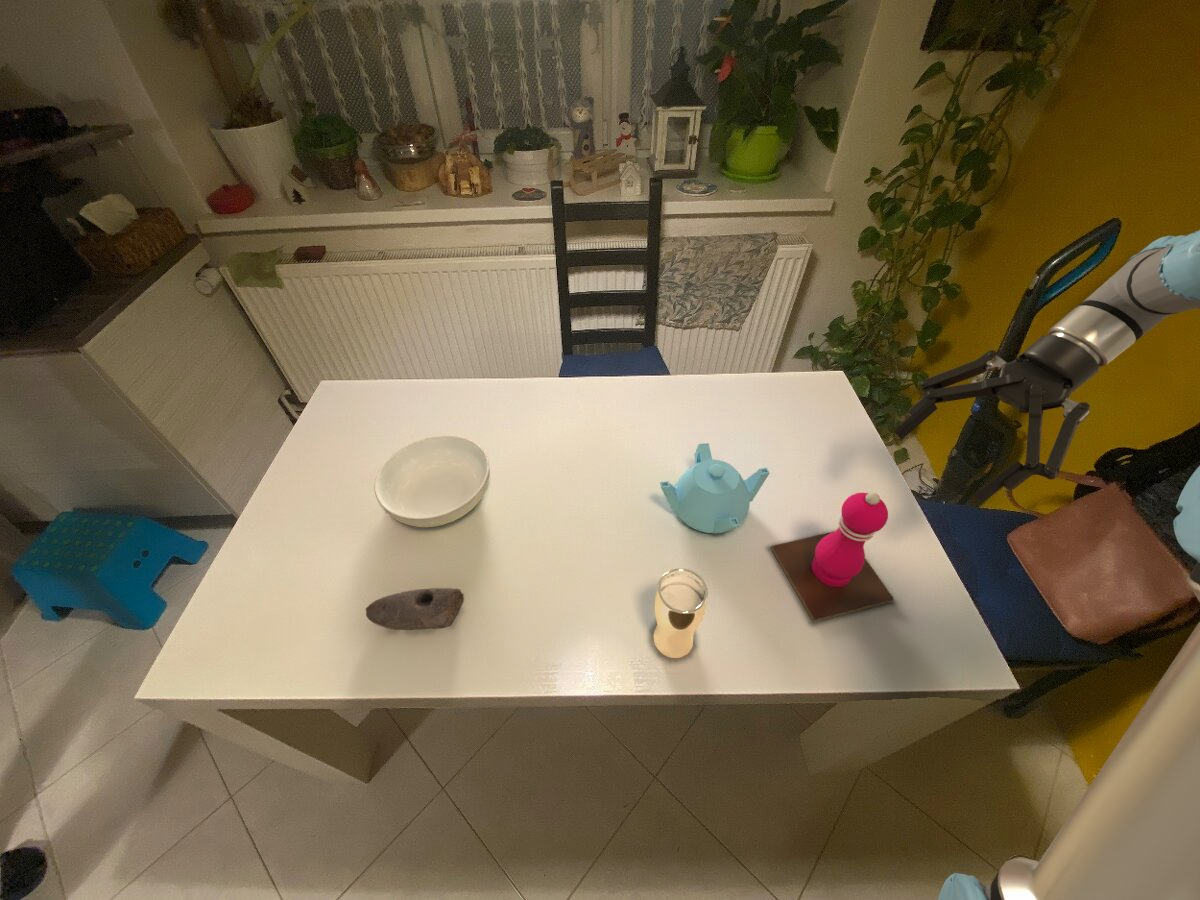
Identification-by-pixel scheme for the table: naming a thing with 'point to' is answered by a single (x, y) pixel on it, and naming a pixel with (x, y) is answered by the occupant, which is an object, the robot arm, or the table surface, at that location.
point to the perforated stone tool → (416, 609)
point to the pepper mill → (849, 539)
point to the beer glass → (678, 611)
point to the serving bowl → (433, 480)
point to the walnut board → (822, 597)
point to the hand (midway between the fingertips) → (934, 465)
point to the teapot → (713, 493)
